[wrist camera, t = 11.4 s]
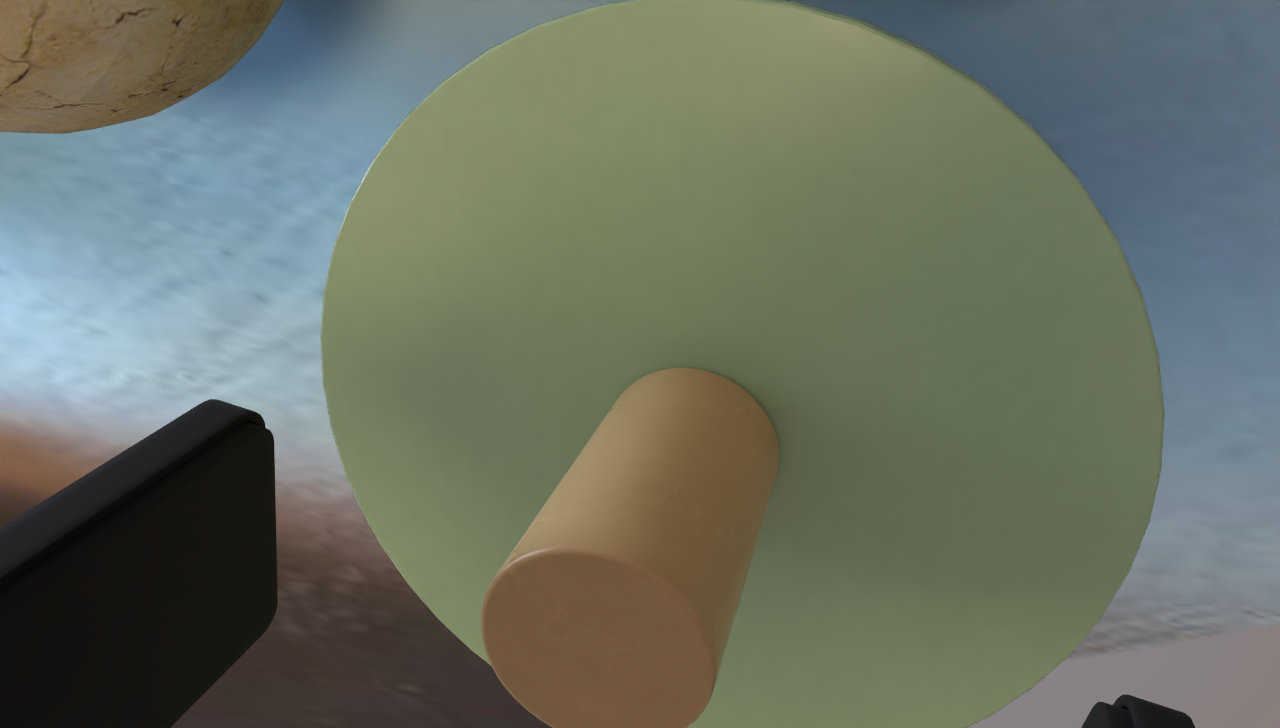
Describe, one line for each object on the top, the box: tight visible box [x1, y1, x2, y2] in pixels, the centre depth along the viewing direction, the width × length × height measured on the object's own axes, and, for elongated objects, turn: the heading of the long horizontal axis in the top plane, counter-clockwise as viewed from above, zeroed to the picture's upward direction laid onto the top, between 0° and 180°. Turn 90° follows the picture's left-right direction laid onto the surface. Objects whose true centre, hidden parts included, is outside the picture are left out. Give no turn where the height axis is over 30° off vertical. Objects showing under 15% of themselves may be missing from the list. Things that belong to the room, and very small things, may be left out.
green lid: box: [321, 0, 1164, 728], centre depth 13 cm, size 13×13×6 cm
